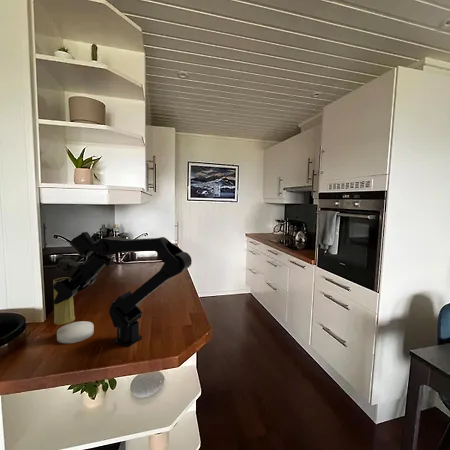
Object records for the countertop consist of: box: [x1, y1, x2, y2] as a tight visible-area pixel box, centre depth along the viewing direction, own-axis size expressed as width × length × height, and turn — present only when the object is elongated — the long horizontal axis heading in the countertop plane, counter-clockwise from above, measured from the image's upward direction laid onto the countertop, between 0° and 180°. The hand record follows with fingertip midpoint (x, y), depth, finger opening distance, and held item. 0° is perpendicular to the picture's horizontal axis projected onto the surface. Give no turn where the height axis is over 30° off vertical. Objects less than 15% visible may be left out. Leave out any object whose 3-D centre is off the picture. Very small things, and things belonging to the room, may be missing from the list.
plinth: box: [56, 320, 95, 344], centre depth 91 cm, size 11×11×2 cm
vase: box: [52, 276, 76, 325], centre depth 88 cm, size 6×6×14 cm
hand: (59, 300), depth 88 cm, fingers closed on vase, 5 cm apart
